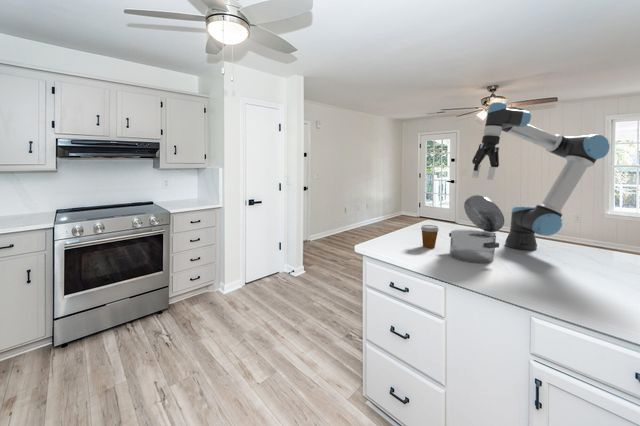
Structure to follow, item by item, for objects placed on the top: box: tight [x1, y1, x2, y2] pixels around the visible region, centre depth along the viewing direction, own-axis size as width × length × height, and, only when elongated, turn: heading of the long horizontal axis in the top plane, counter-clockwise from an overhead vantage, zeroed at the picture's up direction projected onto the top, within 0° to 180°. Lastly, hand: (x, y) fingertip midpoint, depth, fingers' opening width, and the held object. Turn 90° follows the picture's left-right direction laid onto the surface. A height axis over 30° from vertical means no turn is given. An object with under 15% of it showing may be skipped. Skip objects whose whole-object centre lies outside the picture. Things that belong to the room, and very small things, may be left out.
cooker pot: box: [448, 228, 500, 264], centre depth 151 cm, size 22×25×12 cm
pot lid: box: [463, 194, 505, 233], centre depth 151 cm, size 21×21×4 cm
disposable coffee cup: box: [420, 224, 440, 250], centre depth 169 cm, size 10×10×12 cm
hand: (482, 178), depth 152 cm, fingers open, 13 cm apart
